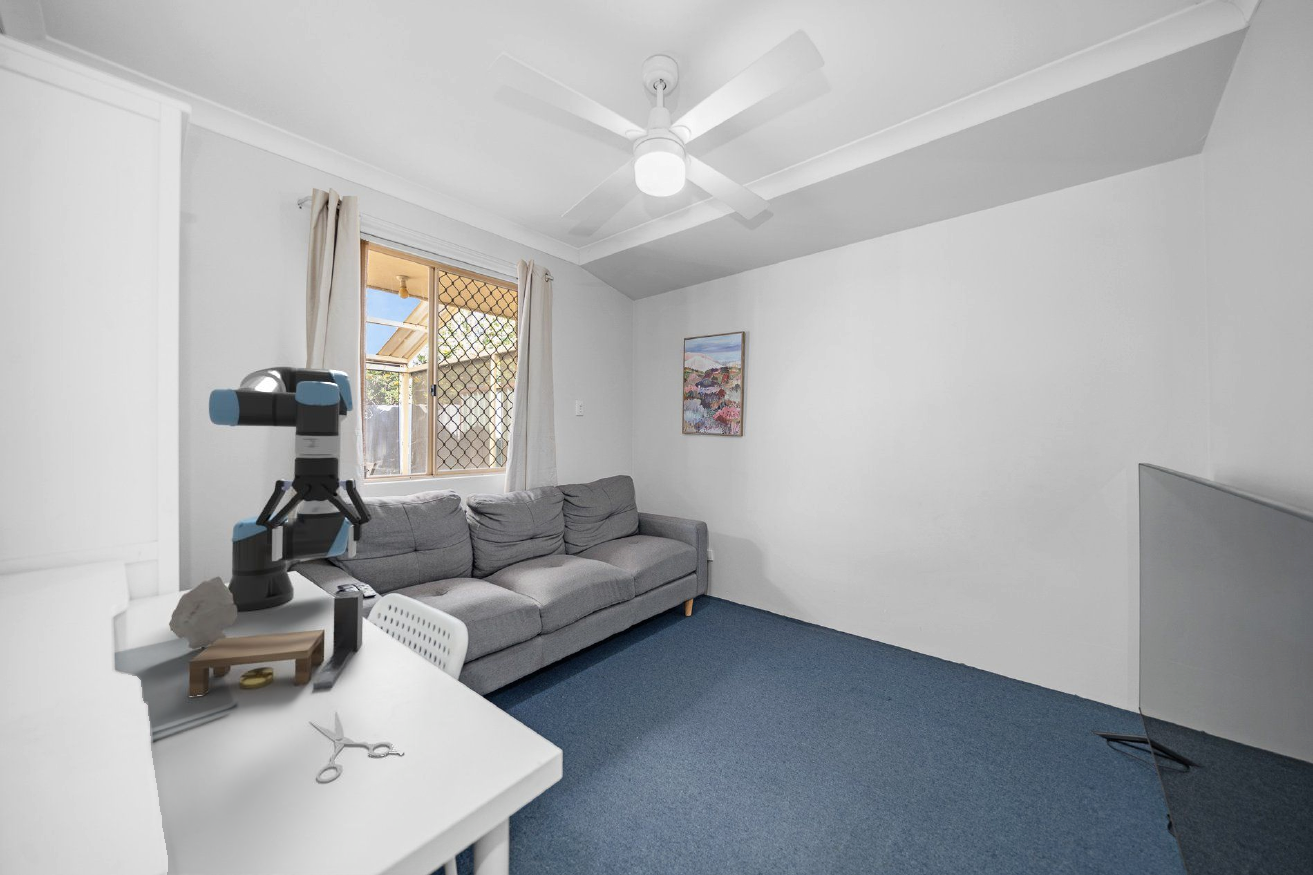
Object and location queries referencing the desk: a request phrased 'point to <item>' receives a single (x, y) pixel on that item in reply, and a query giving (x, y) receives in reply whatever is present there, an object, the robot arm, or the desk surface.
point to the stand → (257, 655)
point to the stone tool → (204, 613)
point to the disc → (257, 678)
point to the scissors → (340, 743)
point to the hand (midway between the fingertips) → (315, 558)
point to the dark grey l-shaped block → (343, 636)
